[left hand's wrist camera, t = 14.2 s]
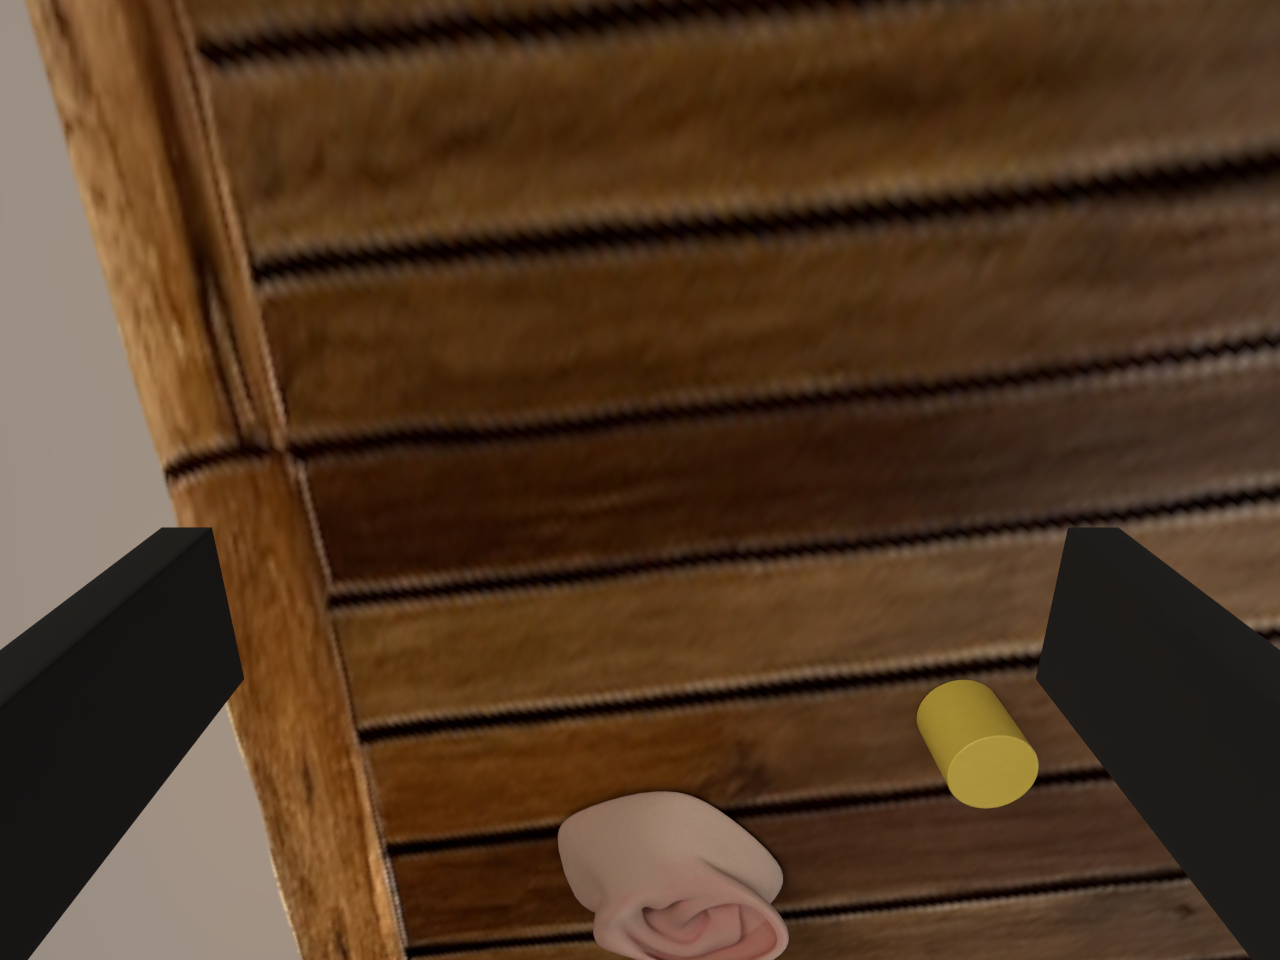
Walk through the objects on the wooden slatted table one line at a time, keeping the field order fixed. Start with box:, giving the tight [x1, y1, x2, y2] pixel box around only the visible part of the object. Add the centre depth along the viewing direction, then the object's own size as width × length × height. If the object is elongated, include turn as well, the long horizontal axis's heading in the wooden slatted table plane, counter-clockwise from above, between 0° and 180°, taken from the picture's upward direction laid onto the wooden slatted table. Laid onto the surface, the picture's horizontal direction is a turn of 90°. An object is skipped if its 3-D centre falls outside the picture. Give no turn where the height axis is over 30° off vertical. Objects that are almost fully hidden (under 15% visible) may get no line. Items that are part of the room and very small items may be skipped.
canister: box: [917, 680, 1038, 808], centre depth 43 cm, size 5×5×5 cm
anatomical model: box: [558, 791, 789, 960], centre depth 47 cm, size 13×4×12 cm
